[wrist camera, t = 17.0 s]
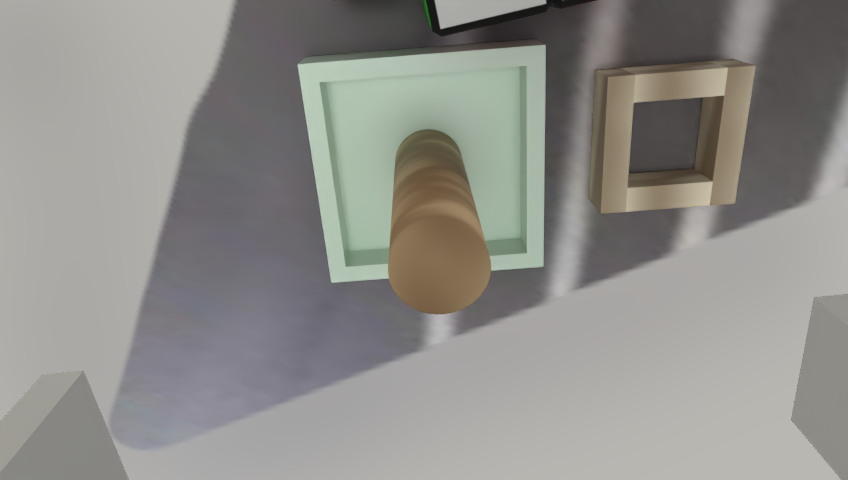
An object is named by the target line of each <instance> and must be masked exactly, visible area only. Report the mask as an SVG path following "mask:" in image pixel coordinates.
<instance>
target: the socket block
mask: <svg viewBox="0 0 848 480" xmlns="http://www.w3.org/2000/svg"><path fill="white" fill-rule="evenodd" d="M755 67H756V65H752V64H748V63H745V62H741V61H738V60H734V59H729V60H716V61H704V62H691V63H678V64H665V65H652V66H640V67H627V68H614V69H601V70H595V78H594V101H593V123H592V146H591V169H590V191H589V200H590V201H591V202H592V203H593V205H594V206H595V207H596V208H597V210H598V211H599V212H600V214H604V213H617V212H630V211H643V210H656V209H669V208H683V207H696V206H709V205H722V204H735V199H736V192H737V186H738V179H739V173H740V166H741V159H742V153H743V146H744V140H745V133H746V127H747V120H748V113H749V107H750V100H751V94H752V87H753V80H754V74H755ZM700 97H703V99H702V108H701V116H700V124H699V133H698V141H697V150H696V158H695V166H694V169H683V170H670V171H657V172H644V173H631V174H629V160H630V146H631V132H632V119H633V105H634V103H636V102H649V101H661V100H674V99H687V98H700Z"/></svg>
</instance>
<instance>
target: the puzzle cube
mask: <svg viewBox="0 0 848 480" xmlns="http://www.w3.org/2000/svg"><path fill="white" fill-rule="evenodd" d="M592 1H596V0H423V4H424V8H425V13H426V17H427V19H428V22H429V24H430V27H431V29H432V31H433V32H435V33H436V34H438V35H439V36H441V37H442V36H447V35H451V34H455V33H459V32H463V31H468V30H472V29H476V28H480V27H484V26H488V25H493V24H497V23H501V22H505V21H509V20H513V19H518V18H522V17H526V16H530V15H534V14H538V13H543V12H546V11H547V9H548V8H549V6H553V7H557V8H561V9H562V8H566V7H571V6H575V5H579V4H583V3H587V2H592Z"/></svg>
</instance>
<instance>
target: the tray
mask: <svg viewBox="0 0 848 480" xmlns="http://www.w3.org/2000/svg"><path fill="white" fill-rule="evenodd" d="M298 70H299V77H300V83H301V90H302V96H303V103H304V109H305V116H306V122H307V128H308V135H309V141H310V148H311V154H312V161H313V167H314V174H315V180H316V186H317V193H318V199H319V206H320V212H321V219H322V225H323V232H324V238H325V244H326V251H327V257H328V264H329V270H330V277H331V283H334V282H347V281H360V280H373V279H387V278H389V275H388V261H389V246H390V231H391V216H392V201H393V186H394V171H395V158H396V153H397V150H398V148H399V146H400V144H401V143H402V142H403V140H404V139H405V138H407V137H408V136H409V135H411V134H412V133H414V132H417V131H420V130H425V129H432V130H438V131H441V132H443V133H445V134H447V135H448V136H450V137H451V138H452V139H453V140H454V141H455V142H456V144H457V145H458V147H459V150H460V152H461V156H462V159H463V163H464V167H465V170H466V174H467V177H468V181H469V184H470V188H471V192H472V195H473V199H474V202H475V206H476V210H477V213H478V217H479V220H480V224H481V227H482V231H483V235H484V238H485V242H486V245H487V249H488V252H489V256H490V260H491V271H492V270H506V269H519V268H532V267H543V256H544V166H545V75H546V45H545V44H544V43H542V42H540V41H538V40H536V39H524V40H511V41H499V42H486V43H473V44H461V45H448V46H435V47H422V48H410V49H397V50H384V51H372V52H359V53H346V54H333V55H321V56H308V57H305V58H304V59H303V60H302V61H301V62H300V63H298Z"/></svg>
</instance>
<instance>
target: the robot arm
mask: <svg viewBox="0 0 848 480" xmlns="http://www.w3.org/2000/svg"><path fill="white" fill-rule="evenodd" d="M791 420H792V422H793V423H794V424H795V425H796V426H797V428H798V429H799V430H800V431H801V432H802V433H803V435H804V436H805V437H806V438H807V439H808V441H809V442H810V443H811V444H812V445H813V447H814V448H815V449H816V450H817V451H818V452H819V454H820V455H821V456H822V457H823V458H824V460H825V461H826V462H827V463H828V464H829V466H830V467H831V468H832V469H833V470H834V471H835V473H836V474H837V475H838V476H839V477H840V479H841V480H848V294H843V295H834V296H823V297H814V300H813V306H812V311H811V316H810V322H809V327H808V332H807V338H806V343H805V348H804V353H803V359H802V364H801V369H800V375H799V381H798V385H797V391H796V396H795V401H794V407H793V412H792V417H791ZM0 480H129V479H128V477H127V474H126V472H125V469H124V467H123V464H122V462H121V460H120V457H119V455H118V453H117V450H116V448H115V445H114V443H113V440H112V438H111V436H110V433H109V431H108V428H107V426H106V424H105V421H104V419H103V416H102V414H101V412H100V409H99V407H98V404H97V402H96V400H95V397H94V395H93V393H92V390H91V388H90V385H89V383H88V381H87V378H86V376H85V373H84V371H77V372H66V373H56V374H46V375H42V376H41V377H40V378H39V379H38V380H37V381H36V382H35V383H34V385H33V386H32V387H31V388H30V389H29V390H28V391H27V392H26V393H25V394H24V396H23V397H22V398H21V399H20V400H19V401H18V402H17V403H16V404H15V405H14V407H13V408H12V409H11V410H10V411H9V412H8V413H7V414H6V415H5V417H4V418H3V419H2V420H1V421H0Z"/></svg>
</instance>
